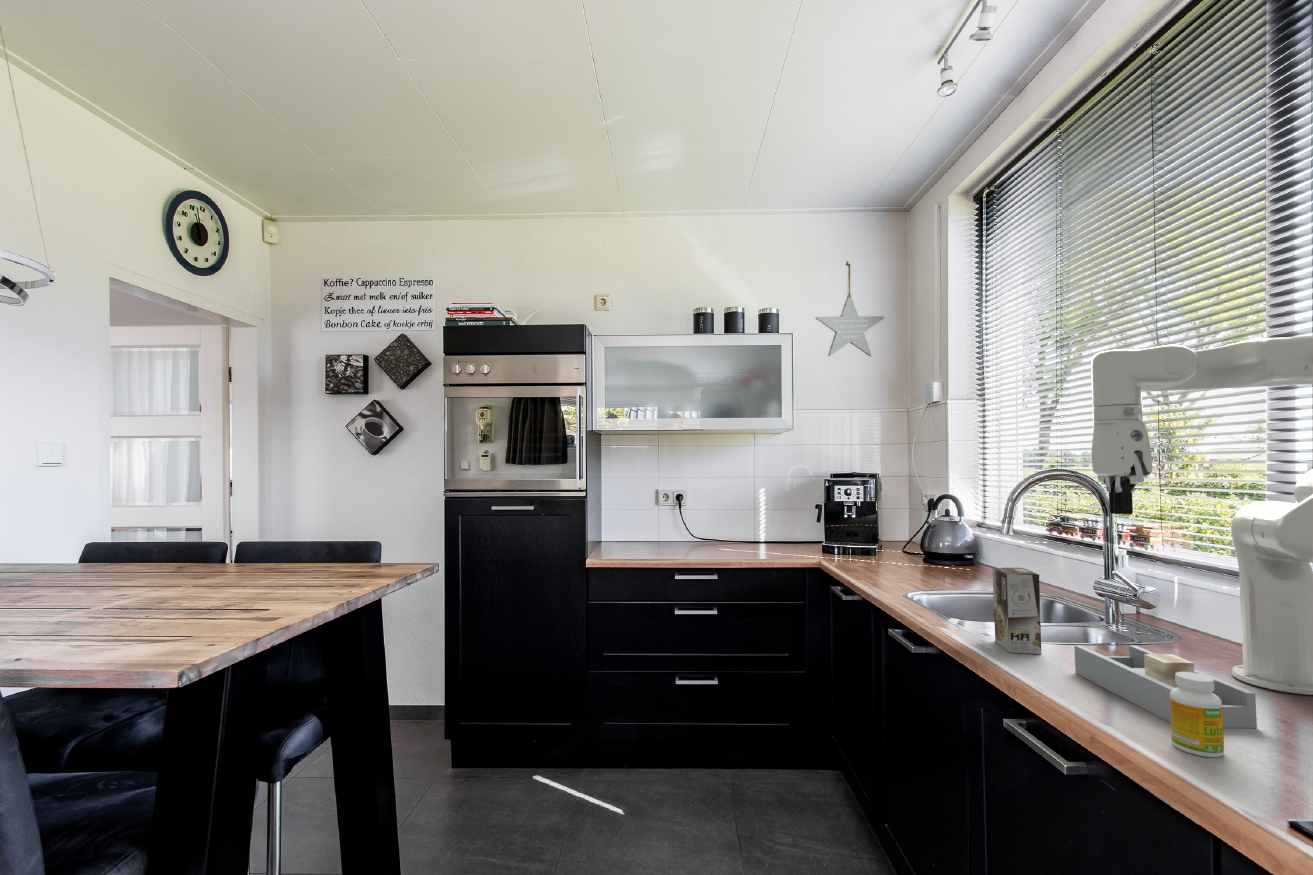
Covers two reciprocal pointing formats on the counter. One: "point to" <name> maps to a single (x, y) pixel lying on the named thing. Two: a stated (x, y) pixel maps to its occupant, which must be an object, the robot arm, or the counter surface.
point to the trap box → (1158, 686)
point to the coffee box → (1017, 610)
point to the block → (1166, 667)
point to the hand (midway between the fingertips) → (1121, 513)
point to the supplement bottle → (1196, 716)
